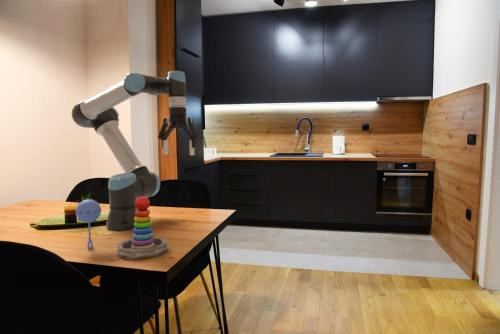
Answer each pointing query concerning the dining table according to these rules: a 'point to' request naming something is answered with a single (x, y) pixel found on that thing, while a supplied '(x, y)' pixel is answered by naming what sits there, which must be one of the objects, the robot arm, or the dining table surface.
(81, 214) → the baby rattle
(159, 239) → the plate
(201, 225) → the dining table surface
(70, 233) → the dining table surface
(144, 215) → the stacking toy
